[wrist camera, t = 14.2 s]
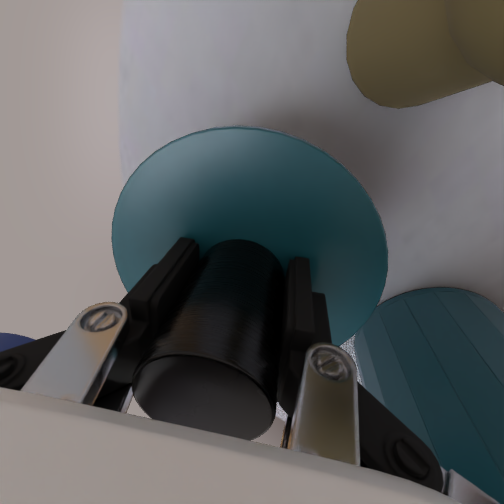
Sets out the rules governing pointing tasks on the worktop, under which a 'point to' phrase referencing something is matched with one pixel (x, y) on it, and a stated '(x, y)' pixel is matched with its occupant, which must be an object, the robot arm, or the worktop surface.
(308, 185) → the lid
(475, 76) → the cork
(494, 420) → the teal faceted tube
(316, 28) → the worktop surface
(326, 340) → the robot arm
